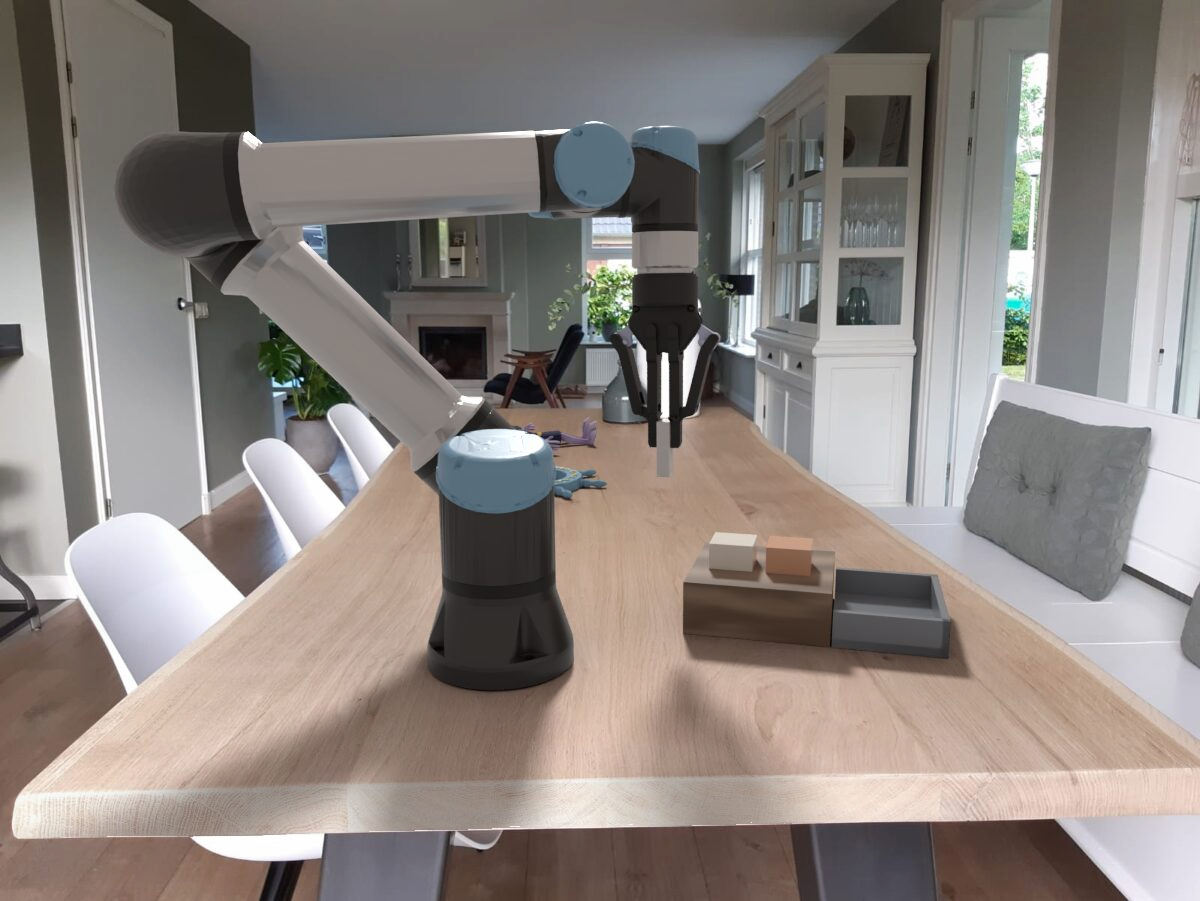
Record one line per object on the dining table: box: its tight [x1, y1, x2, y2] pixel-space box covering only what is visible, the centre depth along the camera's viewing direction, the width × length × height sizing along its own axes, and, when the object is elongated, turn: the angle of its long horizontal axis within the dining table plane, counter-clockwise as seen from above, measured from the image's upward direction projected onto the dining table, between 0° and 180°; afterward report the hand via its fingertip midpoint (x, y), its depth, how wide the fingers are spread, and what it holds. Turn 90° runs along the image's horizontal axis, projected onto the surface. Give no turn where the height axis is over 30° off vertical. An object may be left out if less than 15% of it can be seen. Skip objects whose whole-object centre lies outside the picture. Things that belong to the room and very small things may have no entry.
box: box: [831, 566, 952, 659], centre depth 104 cm, size 16×12×4 cm
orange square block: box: [765, 535, 814, 576], centre depth 106 cm, size 5×5×3 cm
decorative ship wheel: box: [554, 465, 608, 499], centre depth 178 cm, size 30×3×30 cm
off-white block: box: [708, 531, 758, 572], centre depth 108 cm, size 5×5×3 cm
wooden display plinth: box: [682, 542, 836, 648], centre depth 108 cm, size 16×16×6 cm
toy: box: [515, 416, 598, 452], centre depth 219 cm, size 26×9×30 cm
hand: (665, 474), depth 108 cm, fingers closed
